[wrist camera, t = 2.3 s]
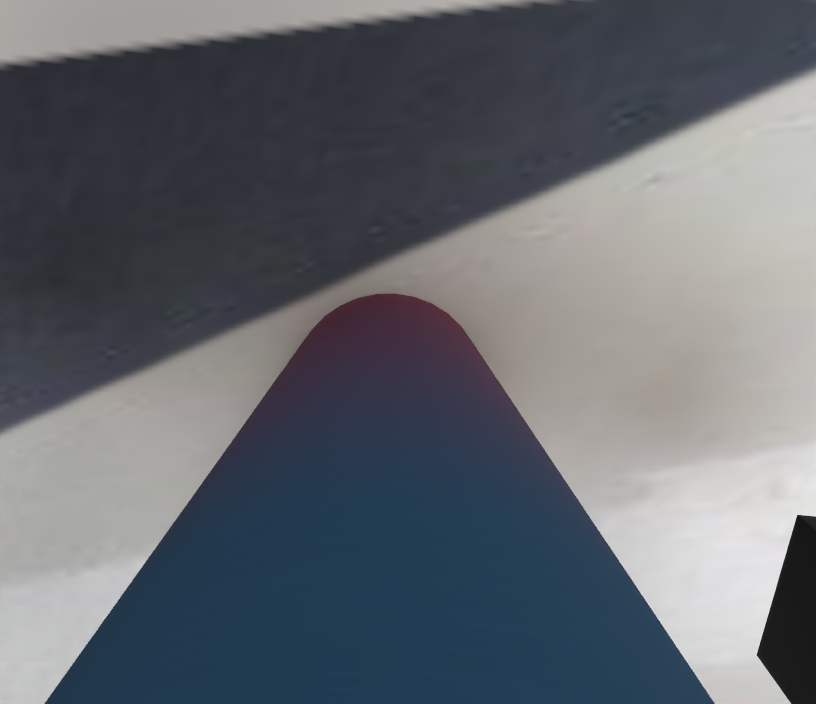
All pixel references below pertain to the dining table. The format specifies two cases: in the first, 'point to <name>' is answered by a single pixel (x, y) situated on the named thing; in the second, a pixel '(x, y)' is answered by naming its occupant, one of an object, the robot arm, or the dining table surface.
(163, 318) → the dining table surface
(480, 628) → the cup
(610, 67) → the dining table surface
